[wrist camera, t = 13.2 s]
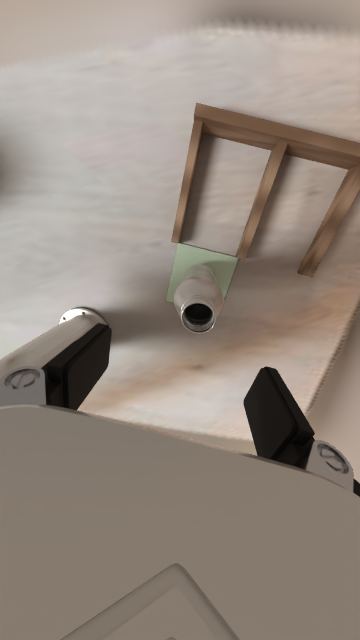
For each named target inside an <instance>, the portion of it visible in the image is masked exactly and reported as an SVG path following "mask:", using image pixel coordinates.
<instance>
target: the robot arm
mask: <svg viewBox="0 0 360 640" xmlns="http://www.w3.org/2000/svg"><path fill="white" fill-rule="evenodd" d="M110 341H111V328H109V326H108V325H107V324H106V322H105V321H104V320H103V319H102V318H101V317H100V316H99V315H98V314H96V313H95V312H93V311H91V310H89V309H85V308H74V309H71V310H69V311H67V312H66V313H64V314H63V315H62V317H61V319H60V322H59V325H57V326H55V327H54V328H52V329H50V330H49V331H47V332H45V333H44V334H42V335H40V336H39V337H37V338H35V339H33V340H32V341H30V342H28V343H27V344H25V345H23V346H22V347H20V348H18V349H17V350H15V351H13V352H12V353H10V354H8V355H7V356H5V357H4V358H2V359H1V360H0V640H360V484H359V483H358V482H357V481H356V480H355V479H354V478H353V477H354V475H353V469H352V467H351V465H350V463H349V462H348V461H347V459H346V458H345V457H344V456H343V454H342V453H341V452H340V451H338V450H337V449H336V448H335V447H333V446H332V445H330V444H329V443H327V442H325V441H321V440H316V441H315V440H314V438H313V435H314V434H315V433H314V431H313V429H312V428H311V426H310V425H309V423H308V421H307V419H306V418H305V416H304V414H303V413H302V411H301V409H300V408H299V406H298V404H297V403H296V401H295V399H294V398H293V396H292V394H291V393H290V391H289V389H288V388H287V386H286V384H285V383H284V381H283V379H282V378H281V376H280V374H279V373H278V371H277V370H276V369H274V368H270V367H264V368H261V369H260V371H259V373H258V375H257V377H256V378H255V380H254V382H253V384H252V386H251V388H250V389H249V391H248V393H247V395H246V397H245V399H244V407H245V411H246V415H247V418H248V422H249V426H250V429H251V433H252V437H253V440H254V444H255V448H256V451H257V455H258V456H255V455H252V454H248V453H244V452H240V451H236V450H232V449H229V448H225V447H221V446H217V445H214V444H210V443H205V442H202V441H198V440H194V439H190V438H186V437H182V436H178V435H175V434H170V433H167V432H163V431H159V430H155V429H151V428H147V427H143V426H139V425H135V424H131V423H127V422H123V421H119V420H115V419H111V418H107V417H103V416H99V415H94V414H90V413H86V412H81V411H77V409H78V408H79V406H80V405H81V404H82V402H83V401H84V399H85V398H86V397H87V395H88V394H89V392H90V391H91V390H92V388H93V387H94V386H95V384H96V383H97V381H98V380H99V379H100V377H101V376H102V374H103V373H104V372H105V370H106V369H107V367H108V363H109V352H110Z"/></svg>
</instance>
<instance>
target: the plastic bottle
mask: <svg viewBox="0 0 360 640" xmlns="http://www.w3.org/2000/svg"><path fill="white" fill-rule="evenodd" d="M174 306H175V309H176V311H177V313H178V314H179V316H180V317H181V321H182V324H183V326H184V327H185V328H186V329H187V330H188V331H190V332H192V333H196V334H203V333H206V332H208V331H210V330H211V329H212V328H213V327H214V325H215V322H216V318H217V317H218V316H219V315H220V313H221V311H222V309H223V306H224V297H223V293H222V291H221V289H220V288H219V286H218V285H217V277H216V274H215V272H214V271H213V270H212V269H211V268H210V267H208V266H206V265H203V264H197V265H193V266H191V267H189V268H188V269H187V270H186V272H185V273H184V275H183V279H182V283H180V285H179V286H178V287H177V289H176V291H175V293H174Z"/></svg>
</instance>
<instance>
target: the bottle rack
mask: <svg viewBox="0 0 360 640" xmlns="http://www.w3.org/2000/svg"><path fill="white" fill-rule="evenodd" d="M202 133H203V134H207V135H211V136H215V137H219V138H223V139H227V140H231V141H235V142H239V143H243V144H247V145H251V146H255V147H259V148H263V149H267V150H271V154H270V157H269V160H268V163H267V166H266V169H265V172H264V175H263V178H262V180H261V183H260V186H259V189H258V192H257V195H256V198H255V201H254V204H253V207H252V210H251V213H250V216H249V219H248V222H247V224H246V227H245V230H244V233H243V236H242V239H241V242H240V245H239V248H238V251H237V254H236V258H238V259H242V260H245V259H246V256H247V253H248V250H249V248H250V245H251V242H252V240H253V237H254V234H255V231H256V229H257V226H258V223H259V220H260V218H261V215H262V212H263V209H264V207H265V204H266V201H267V198H268V196H269V193H270V190H271V188H272V185H273V182H274V179H275V177H276V174H277V171H278V168H279V166H280V163H281V160H282V157H283V155H284V154H288V155H292V156H296V157H300V158H304V159H308V160H312V161H316V162H320V163H324V164H328V165H332V166H336V167H340V168H344V169H348V172H347V174H346V176H345V178H344V180H343V182H342V184H341V186H340V188H339V190H338V192H337V194H336V196H335V198H334V200H333V202H332V204H331V206H330V208H329V210H328V212H327V214H326V216H325V218H324V220H323V222H322V224H321V226H320V228H319V230H318V232H317V234H316V236H315V238H314V240H313V242H312V244H311V246H310V248H309V250H308V252H307V254H306V256H305V258H304V260H303V262H302V264H301V266H300V268H299V270H298V272H297V273H300V274H302V275H305V276H309V277H313V275H314V273H315V271H316V269H317V267H318V265H319V264H320V262H321V260H322V258H323V256H324V254H325V252H326V251H327V249H328V247H329V245H330V243H331V241H332V240H333V238H334V236H335V234H336V232H337V230H338V228H339V227H340V225H341V223H342V221H343V219H344V217H345V216H346V214H347V212H348V210H349V208H350V206H351V204H352V203H353V201H354V199H355V197H356V195H357V193H358V191H359V190H360V143H357V142H353V141H349V140H345V139H340V138H336V137H332V136H328V135H324V134H320V133H316V132H312V131H308V130H304V129H300V128H296V127H292V126H288V125H284V124H280V123H276V122H272V121H268V120H264V119H260V118H256V117H252V116H248V115H244V114H240V113H236V112H231V111H227V110H223V109H219V108H215V107H211V106H207V105H203V104H199V103H196V107H195V113H194V124H193V129H192V135H191V140H190V145H189V151H188V156H187V161H186V166H185V172H184V177H183V182H182V188H181V193H180V198H179V204H178V209H177V214H176V219H175V225H174V230H173V235H172V241H171V242H174V243H180V239H181V235H182V230H183V225H184V220H185V215H186V210H187V206H188V201H189V196H190V191H191V186H192V182H193V177H194V172H195V167H196V162H197V157H198V153H199V148H200V143H201V138H202Z"/></svg>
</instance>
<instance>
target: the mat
mask: <svg viewBox="0 0 360 640" xmlns="http://www.w3.org/2000/svg"><path fill="white" fill-rule="evenodd" d="M237 261H238V258H236V257H233V256H229V255H225V254H221V253H217V252H213V251H209V250H205V249H201V248H197V247H193V246H189V245H185V244H181V243H177V248H176V253H175V257H174V262H173V267H172V272H171V277H170V282H169V287H168V292H167V297H166V301H168V302H172V303H174V293H175V291H176V289H177V287H178V286H179V285H180V283H182V279H183V275H184V273H185V272H186V270H187V269H188V268H189V267H191V266H193V265H197V264H203V265H206V266H208V267H210V268H211V269H212V270H213V271H214V272H215V274H216V277H217V285H218V286H219V288H220V289H221V291H222V293H223V297H224V299H225V296H226V293H227V290H228V287H229V284H230V281H231V279H232V276H233V273H234V270H235V267H236V264H237Z"/></svg>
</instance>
